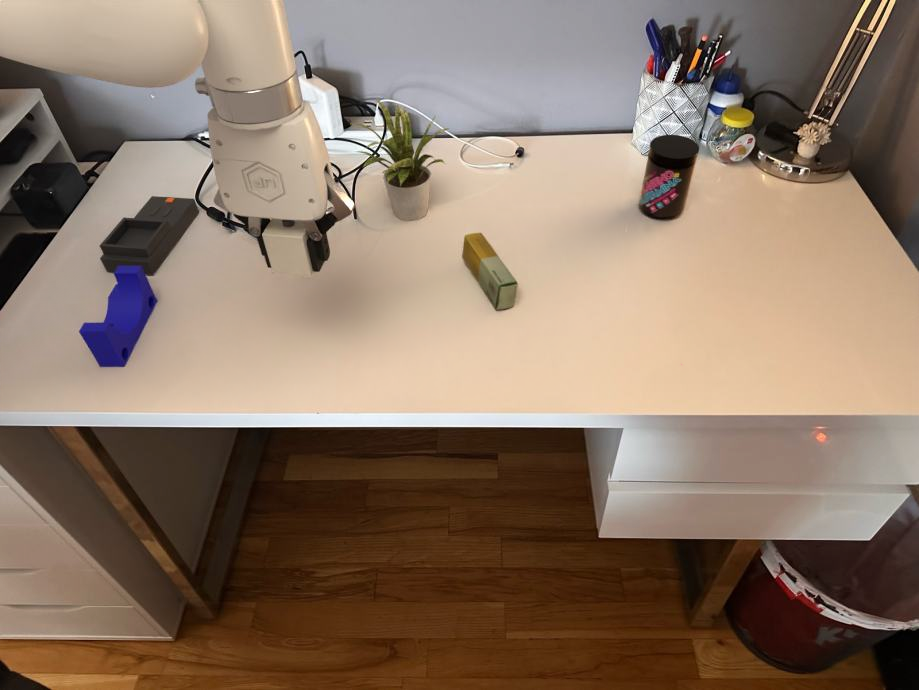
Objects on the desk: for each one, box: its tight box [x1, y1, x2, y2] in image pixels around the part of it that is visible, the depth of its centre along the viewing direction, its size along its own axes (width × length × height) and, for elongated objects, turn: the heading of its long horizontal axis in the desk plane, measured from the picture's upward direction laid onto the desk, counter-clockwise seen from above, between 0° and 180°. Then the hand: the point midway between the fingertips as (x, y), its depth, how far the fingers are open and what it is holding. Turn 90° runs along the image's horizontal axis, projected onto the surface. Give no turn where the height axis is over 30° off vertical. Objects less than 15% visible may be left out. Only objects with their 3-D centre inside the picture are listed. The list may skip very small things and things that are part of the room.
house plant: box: [351, 98, 449, 222], centre depth 98 cm, size 14×14×16 cm
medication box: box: [461, 232, 519, 311], centre depth 89 cm, size 12×3×4 cm, turn 22°
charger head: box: [262, 219, 315, 278], centre depth 69 cm, size 4×4×6 cm
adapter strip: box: [99, 195, 200, 276], centre depth 98 cm, size 7×16×4 cm, turn 172°
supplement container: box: [638, 134, 700, 221], centre depth 98 cm, size 7×7×10 cm
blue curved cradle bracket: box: [78, 266, 158, 368], centre depth 84 cm, size 12×4×6 cm, turn 179°
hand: (297, 260), depth 71 cm, fingers closed on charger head, 4 cm apart
